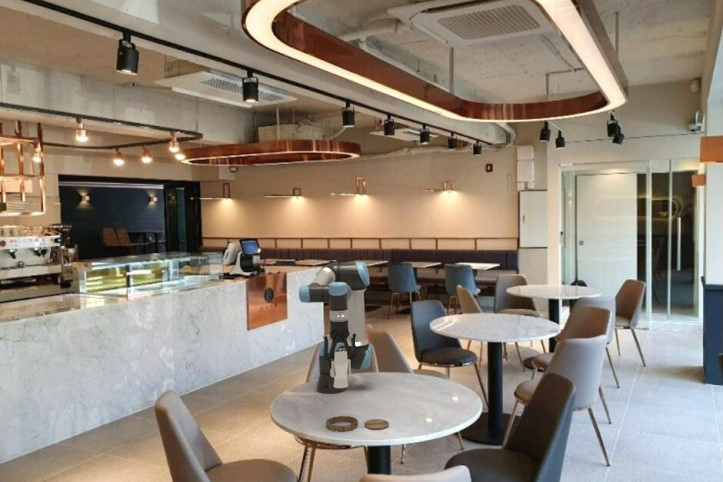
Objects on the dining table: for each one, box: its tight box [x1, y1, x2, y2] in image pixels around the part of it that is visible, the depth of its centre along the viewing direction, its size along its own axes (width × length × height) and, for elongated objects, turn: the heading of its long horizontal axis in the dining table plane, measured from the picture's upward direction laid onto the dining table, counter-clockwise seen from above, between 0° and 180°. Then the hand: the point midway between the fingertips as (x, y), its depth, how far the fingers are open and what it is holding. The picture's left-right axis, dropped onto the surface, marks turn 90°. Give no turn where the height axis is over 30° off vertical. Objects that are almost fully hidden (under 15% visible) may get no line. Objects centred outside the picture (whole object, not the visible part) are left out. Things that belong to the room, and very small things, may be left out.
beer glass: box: [332, 348, 349, 389], centre depth 238 cm, size 7×7×15 cm
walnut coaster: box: [364, 418, 390, 431], centre depth 238 cm, size 10×10×1 cm
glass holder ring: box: [325, 415, 359, 433], centre depth 238 cm, size 13×13×2 cm
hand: (340, 375), depth 238 cm, fingers closed on beer glass, 7 cm apart
